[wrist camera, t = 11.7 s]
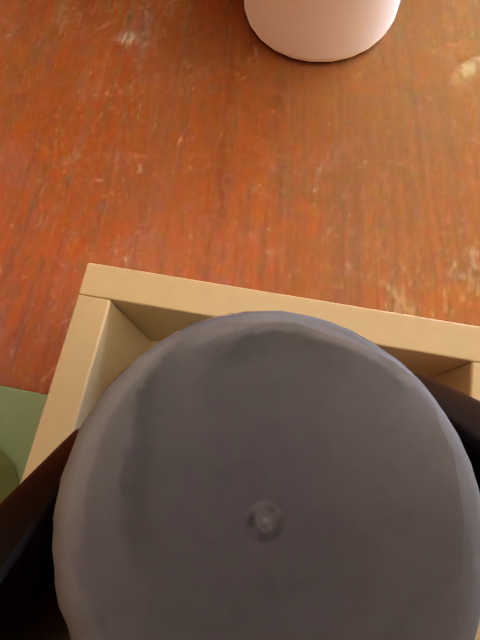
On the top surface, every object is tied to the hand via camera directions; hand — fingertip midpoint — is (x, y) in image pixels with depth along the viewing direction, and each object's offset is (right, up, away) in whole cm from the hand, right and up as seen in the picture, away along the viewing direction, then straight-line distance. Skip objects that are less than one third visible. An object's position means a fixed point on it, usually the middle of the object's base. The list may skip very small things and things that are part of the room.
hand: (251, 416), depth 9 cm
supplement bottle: (0, -3, +6) cm, 7 cm away
